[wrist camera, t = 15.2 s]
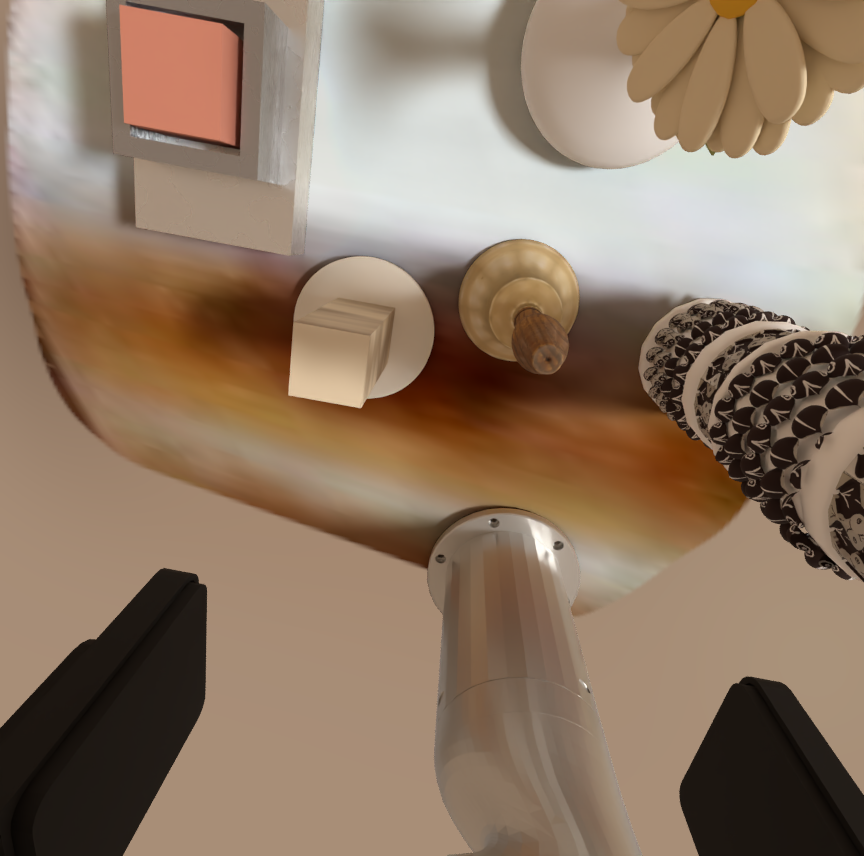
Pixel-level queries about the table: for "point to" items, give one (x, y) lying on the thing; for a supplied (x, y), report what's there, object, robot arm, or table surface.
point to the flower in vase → (685, 73)
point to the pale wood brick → (340, 351)
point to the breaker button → (181, 76)
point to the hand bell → (521, 304)
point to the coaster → (380, 287)
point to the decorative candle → (771, 416)
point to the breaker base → (260, 132)
